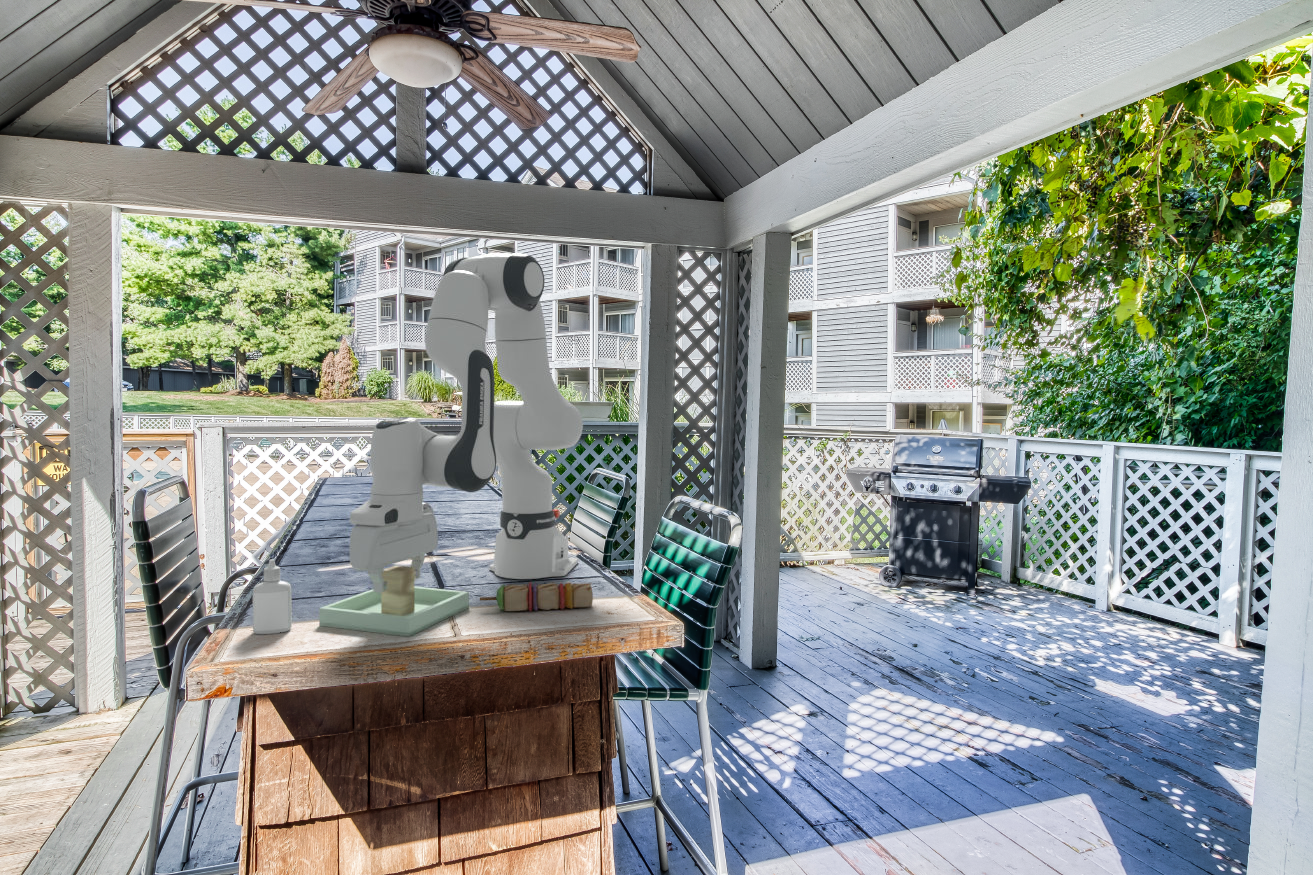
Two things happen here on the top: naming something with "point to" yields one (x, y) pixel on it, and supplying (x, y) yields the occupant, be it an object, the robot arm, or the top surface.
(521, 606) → the skewer
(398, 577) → the birch block
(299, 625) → the top surface
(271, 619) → the eye dropper bottle
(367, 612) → the tray
